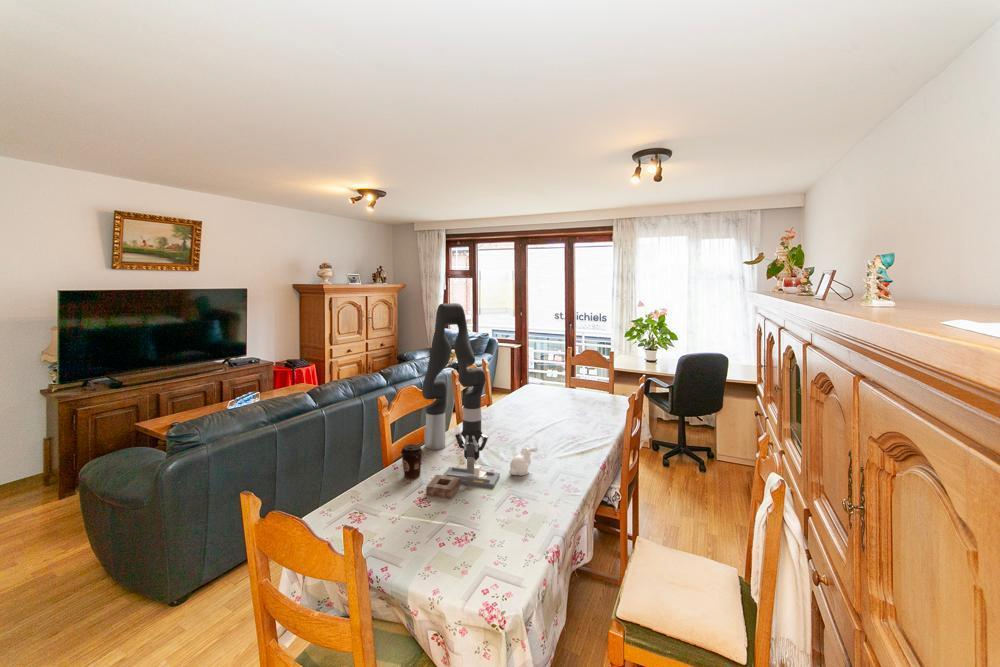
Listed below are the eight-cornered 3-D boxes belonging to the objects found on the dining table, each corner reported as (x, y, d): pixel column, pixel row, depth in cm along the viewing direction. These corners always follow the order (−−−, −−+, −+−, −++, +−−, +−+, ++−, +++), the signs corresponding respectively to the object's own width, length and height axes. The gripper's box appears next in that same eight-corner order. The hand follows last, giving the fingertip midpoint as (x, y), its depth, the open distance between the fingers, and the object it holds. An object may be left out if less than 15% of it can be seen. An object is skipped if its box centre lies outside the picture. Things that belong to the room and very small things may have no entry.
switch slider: (473, 478, 172) (473, 468, 172) (477, 473, 177) (477, 463, 176) (483, 479, 171) (483, 470, 171) (486, 474, 176) (486, 464, 175)
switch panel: (440, 482, 173) (440, 475, 173) (449, 471, 183) (449, 464, 182) (493, 489, 168) (493, 481, 167) (499, 477, 177) (499, 470, 177)
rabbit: (522, 465, 190) (523, 439, 188) (539, 472, 183) (540, 445, 182) (504, 474, 181) (504, 447, 179) (521, 481, 174) (521, 453, 173)
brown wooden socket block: (426, 496, 162) (426, 486, 161) (436, 484, 171) (436, 474, 171) (451, 499, 159) (451, 489, 159) (460, 487, 169) (460, 477, 168)
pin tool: (466, 473, 173) (466, 444, 172) (468, 469, 177) (469, 441, 175) (474, 474, 172) (474, 445, 171) (476, 470, 176) (477, 442, 174)
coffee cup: (403, 483, 172) (402, 452, 170) (399, 474, 179) (398, 444, 177) (424, 479, 175) (424, 449, 173) (420, 471, 183) (419, 441, 181)
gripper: (452, 419, 170) (452, 460, 172) (486, 422, 166) (486, 464, 169) (458, 413, 177) (458, 453, 179) (491, 416, 174) (491, 457, 176)
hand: (471, 458), depth 174 cm, fingers closed on pin tool, 3 cm apart
